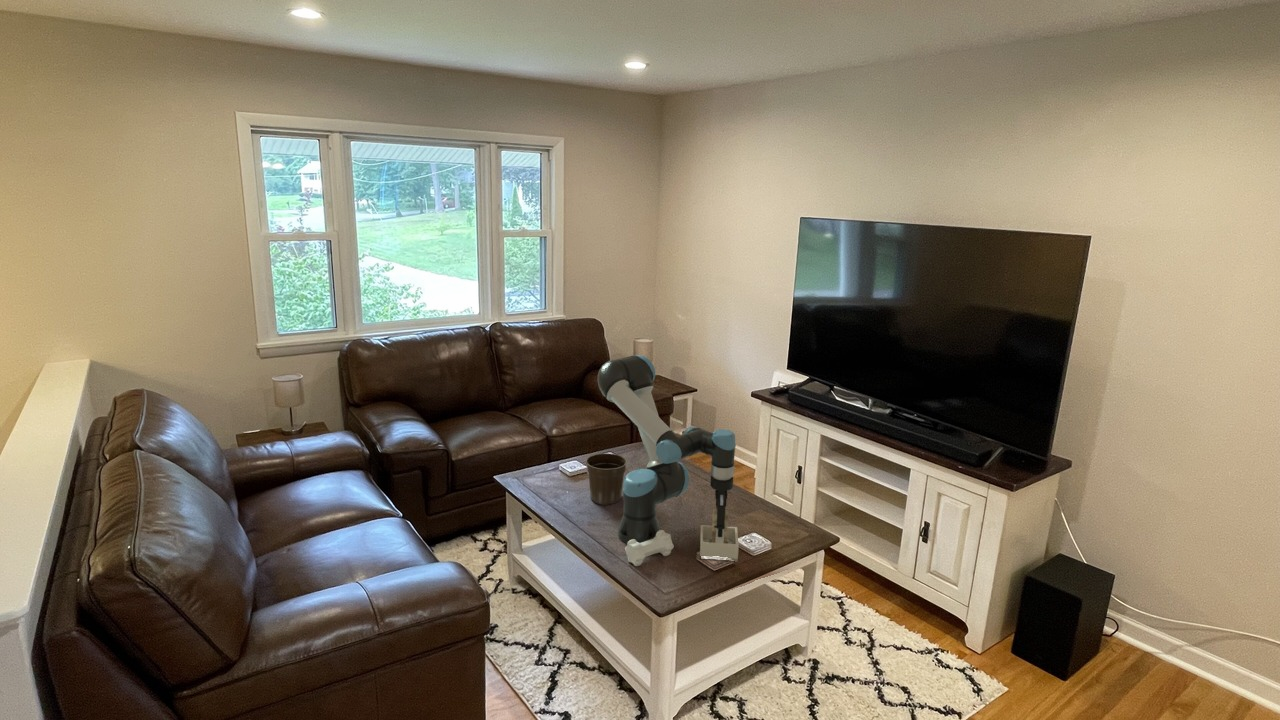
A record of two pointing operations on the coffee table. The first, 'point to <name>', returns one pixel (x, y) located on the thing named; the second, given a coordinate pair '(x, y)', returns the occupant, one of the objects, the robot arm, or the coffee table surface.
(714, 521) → the wooden wick block
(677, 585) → the coffee table surface
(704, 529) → the open rectangular box
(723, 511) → the robot arm
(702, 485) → the coffee table surface
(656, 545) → the dog bone
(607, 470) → the plant pot
